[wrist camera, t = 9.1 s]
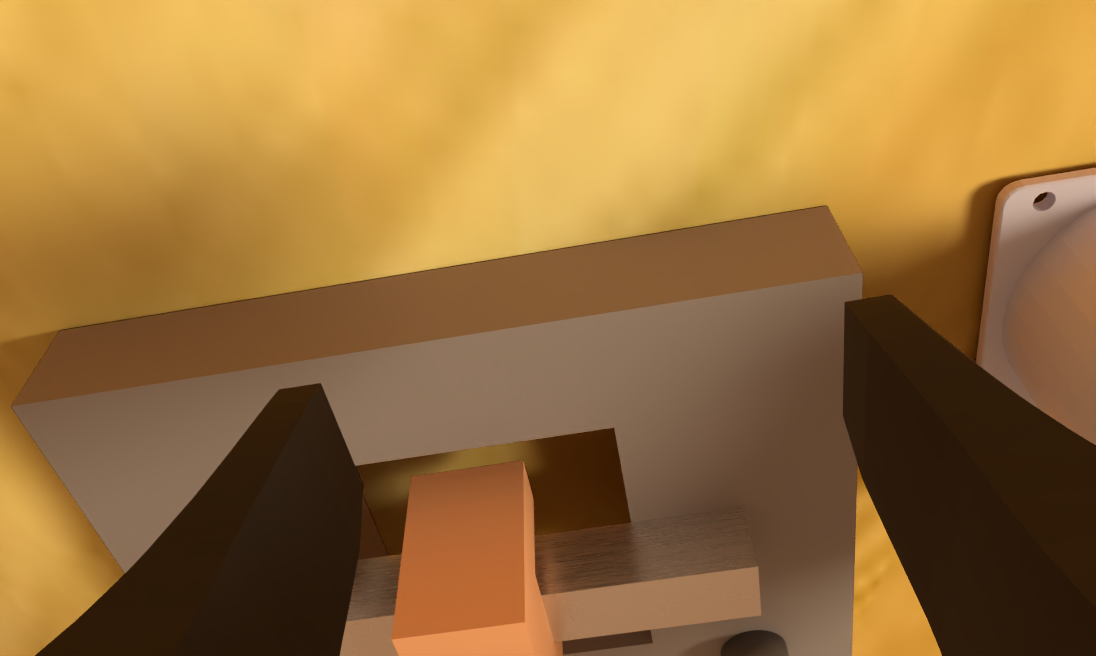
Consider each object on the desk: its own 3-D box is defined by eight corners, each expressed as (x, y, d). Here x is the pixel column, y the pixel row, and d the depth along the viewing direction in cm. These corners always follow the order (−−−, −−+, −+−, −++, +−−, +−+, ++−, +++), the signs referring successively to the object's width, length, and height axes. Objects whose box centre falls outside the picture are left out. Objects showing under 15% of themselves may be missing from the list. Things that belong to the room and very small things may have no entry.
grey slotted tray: (827, 205, 23) (891, 327, 19) (826, 606, 33) (869, 743, 29) (58, 331, 25) (-29, 466, 21) (269, 678, 34) (236, 817, 30)
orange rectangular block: (523, 460, 25) (524, 622, 21) (560, 602, 28) (567, 764, 24) (411, 476, 25) (391, 639, 21) (462, 615, 29) (453, 777, 25)
